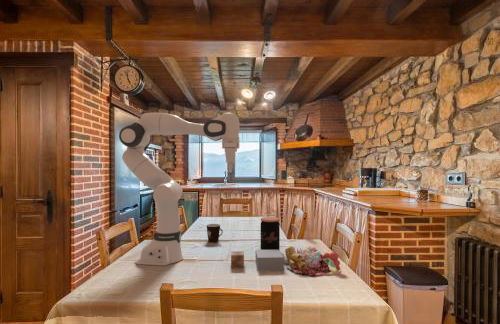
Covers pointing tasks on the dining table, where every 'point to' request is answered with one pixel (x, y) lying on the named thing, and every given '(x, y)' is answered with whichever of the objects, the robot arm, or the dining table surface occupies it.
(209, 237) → the coffee mug
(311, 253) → the candy landscape model
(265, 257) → the grey box
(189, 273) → the dining table surface
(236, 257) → the walnut block
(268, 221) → the coffee jar
